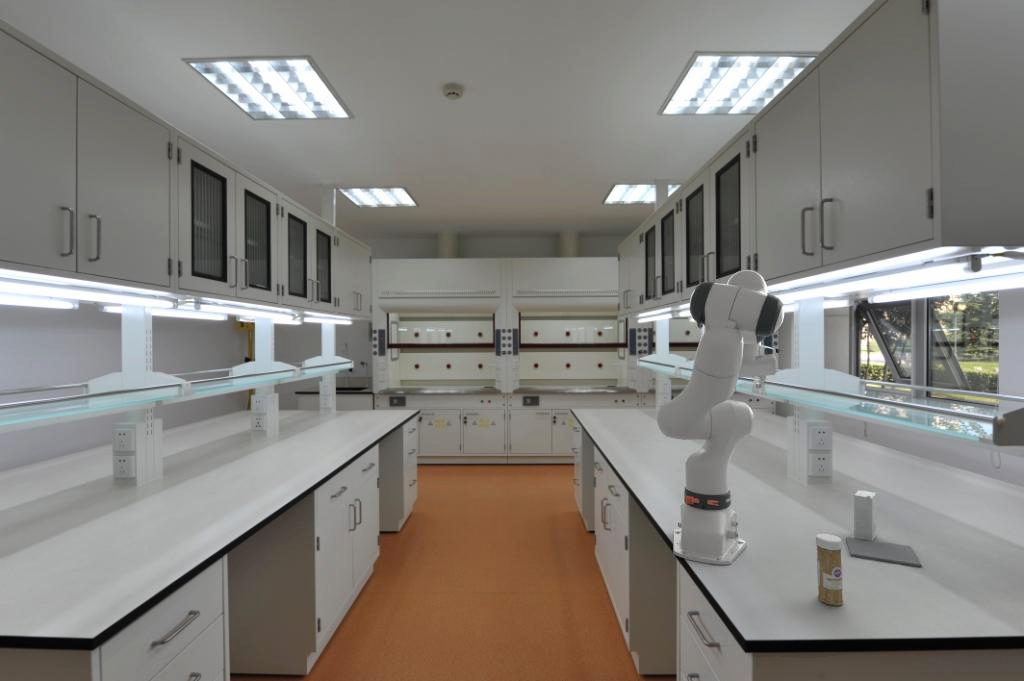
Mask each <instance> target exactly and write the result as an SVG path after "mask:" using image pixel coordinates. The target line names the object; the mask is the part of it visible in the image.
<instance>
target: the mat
mask: <svg viewBox="0 0 1024 681" xmlns="http://www.w3.org/2000/svg"><path fill="white" fill-rule="evenodd" d="M845 541H846V544H847V545H846V546H847V548H848V551H849V555H850V557H853V556H855V558H860V559H861V558H862V559H867V560H873V561H879V562H885V563H892V564H899V565H905V566H911V567H917V568H923V564H922V562H921V561H920V560H919V557H918V556H917V554H916V552H915V551H914V549H913V547H912V545H906V544H899V543H893V542H892V543H891V542H884V541H878V540H873V541H872V540H865V539H858V538H855V537H850V536H845Z"/></svg>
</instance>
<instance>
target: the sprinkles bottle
mask: <svg viewBox="0 0 1024 681" xmlns="http://www.w3.org/2000/svg"><path fill="white" fill-rule="evenodd" d="M842 544H843V543H842V539H841V538H840V537H839V536H838V535H837V536H836V535H832V534H829V533H818V534H816V536H815V545H816V555H817V556H816V570H817V571H816V572H817V585H818V594H817V598H818V600H819V601H821V602H822V603H824V604H826V605H829V606H836V607H837V606H842V605H843V603H844V600H843V569H842V567H843V566H842V553H841V552H842V548H843V547H842V546H843V545H842Z"/></svg>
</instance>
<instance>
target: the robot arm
mask: <svg viewBox="0 0 1024 681" xmlns="http://www.w3.org/2000/svg"><path fill="white" fill-rule="evenodd" d="M784 306H785V305H784V302H783V301H782V300H781V299H780V297H778V296H776V295H774V293H773V292H769V290H768V286H767V283H766V281H765V279H764V277H763V276H762V275H761V274H760V273H758V272H756V271H754V270H750V269H745V270H743V269H742V270H740V271H737V272H736V273H734V274H732V276H730V278H729V279H728V281H727V283H726V284H725V283H716V281H702V282H700V283H699V284H698V285H696V287H695V288H694V290H693V292H692V293H691V296H690V299H689V312H690V315H691V317H692V319H693V320H694V321H695V323H696V324H697V328H699V329H702V328H703V331H702V332H703V333H702V336H701V338H700V339H699V340H700V341H699V343H698V345H697V346H698V347H697V348H696V352H695V356H694V362H693V367H692V370H691V375H690V378H689V380H688V383H687V384H686V386H685V387H684V389H683V390H682V391H681V392H680V393H679V394H678V395H677V396H676V397H674V398H672V399H671V400H669V401H666V402H665V403H663V404H662V405H661V406H660V408H659V409H658V412H657V417H656V420H657V422H656V423H657V426H658V428H659V431H660V432H661V433H662V435H663V436H665V437H666V438H670V439H676V440H681V441H690V440H691V441H697V440H698V441H699V440H700V441H705V442H704V445H703V446H702V447H701V448H700V449H699V450H697V451H695V452H692V453H691V454H689V457H688V458H687V459H686V461H685V465H684V466H685V486H684V491H683V497H684V503H682V504H681V505H680V522H678V523H677V527H678V528H679V529H673V537H672V538H673V540H672V542H673V543H672V547H673V549H672V552H673V555H675V556H678V557H679V558H682V559H686V560H690V561H694V562H699V563H704V564H712V565H731V564H732V563H733V562H734V561H735V560H736V559H737V557H738V556H739V555H740V554H741V553H742V551H743V550H744V549H745V548H746V547H747V543H746V540H744V539H742V538H740V536H739V535H740V534H739V523H738V522H739V521H738V520H739V519H738V513H737V512H736V511H735V510H734V508H732V506H731V504H732V495H731V491H730V489H729V472H730V462H731V459H732V455H733V453H734V451H735V450H736V449H737V447H738V445H739V444H741V442H742V441H743V440H744V439H745V438H747V437H748V436H749V435H750V434H752V432H753V430H754V427H755V423H756V422H755V414H754V412H753V410H752V408H751V407H750V406H749V405H748V404H747V403H746V402H744V401H739V400H733V399H732V400H731V399H730V398H732V396H733V395H734V393H735V391H736V390H737V383H738V379H739V378H751V377H752V378H753V377H758V378H759V379H758V382H755V388H756V389H761V390H762V389H763V386H764V385H763V384H764V383H765V381H766V380H767V377H768V376H775V375H776V374H777V372H778V361H777V357H776V349H775V348H773V347H770V346H766V345H764V344H762V341H764V340H765V339H766V338H767V337H771V336H772V335H774V334H775V333H776V331H778V329H779V328H780V327H781V325H782V324H783V321H784V318H785V308H784Z"/></svg>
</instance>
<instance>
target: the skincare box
mask: <svg viewBox="0 0 1024 681" xmlns="http://www.w3.org/2000/svg"><path fill="white" fill-rule="evenodd" d="M853 500H854V501H853V511H854V512H853V513H854V514H853V517H854V518H853V520H854V521H853V526H854V528H853V532H854V535H853V536H854V537H853V538H858V539H865V540H872V541H875V538H876V537H877V536H878V535H877V531H878V530H877V526H878V525H877V493H876V492H872V491H866V490H857V491H856V493H855V494H854V495H853Z"/></svg>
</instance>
